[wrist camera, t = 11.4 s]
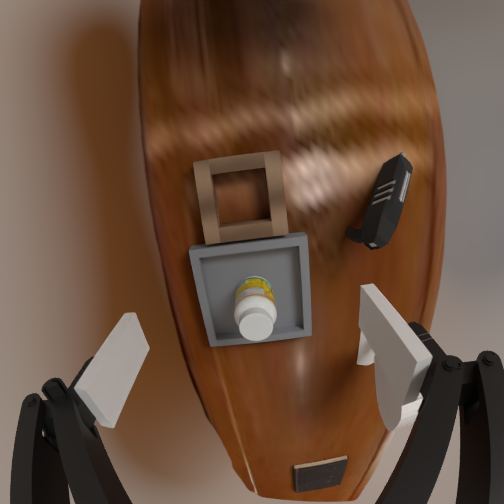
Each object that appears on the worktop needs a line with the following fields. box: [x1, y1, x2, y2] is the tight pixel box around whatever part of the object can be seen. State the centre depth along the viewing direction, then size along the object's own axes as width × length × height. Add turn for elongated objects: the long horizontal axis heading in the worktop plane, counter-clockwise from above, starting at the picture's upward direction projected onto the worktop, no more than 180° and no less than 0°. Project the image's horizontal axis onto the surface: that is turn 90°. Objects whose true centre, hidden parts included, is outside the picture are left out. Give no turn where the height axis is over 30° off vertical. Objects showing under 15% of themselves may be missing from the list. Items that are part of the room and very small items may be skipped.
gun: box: [346, 152, 413, 250], centre depth 34 cm, size 3×16×10 cm, turn 146°
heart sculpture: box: [357, 331, 423, 431], centre depth 35 cm, size 16×5×18 cm, turn 6°
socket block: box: [193, 151, 289, 245], centre depth 35 cm, size 11×11×2 cm
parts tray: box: [189, 232, 312, 347], centre depth 40 cm, size 16×16×2 cm
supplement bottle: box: [234, 276, 277, 341], centre depth 35 cm, size 5×5×10 cm
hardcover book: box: [293, 456, 349, 493], centre depth 61 cm, size 16×23×2 cm
